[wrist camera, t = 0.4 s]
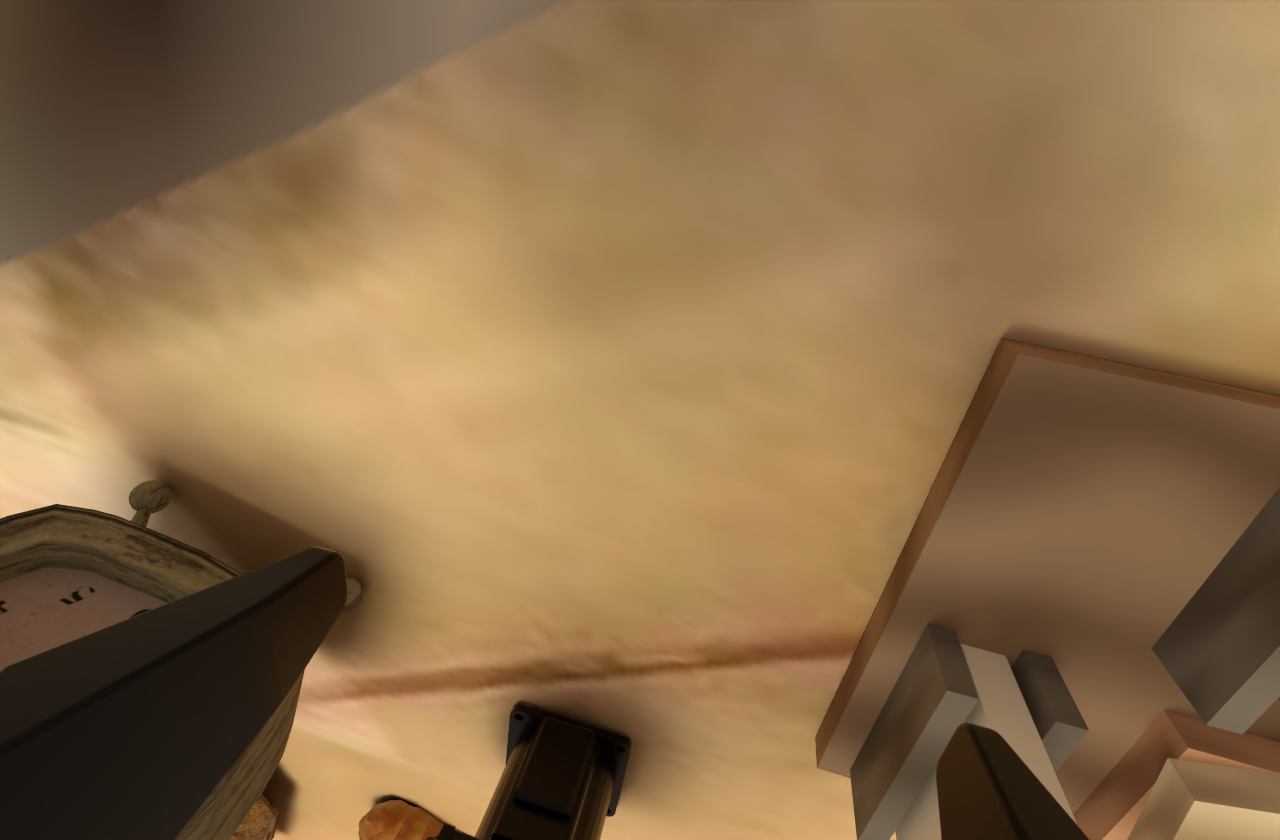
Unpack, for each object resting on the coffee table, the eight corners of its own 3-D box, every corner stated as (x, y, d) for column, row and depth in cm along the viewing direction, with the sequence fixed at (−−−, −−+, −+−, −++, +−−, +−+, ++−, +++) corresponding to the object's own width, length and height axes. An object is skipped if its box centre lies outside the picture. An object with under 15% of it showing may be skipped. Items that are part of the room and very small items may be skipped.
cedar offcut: (1198, 858, 24) (1222, 900, 23) (1068, 819, 25) (1084, 858, 23) (1315, 751, 21) (1351, 793, 20) (1163, 710, 21) (1188, 747, 20)
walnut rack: (1206, 854, 26) (1282, 985, 22) (815, 737, 28) (820, 837, 24) (1632, 470, 17) (1897, 576, 13) (1001, 338, 19) (1060, 393, 15)
